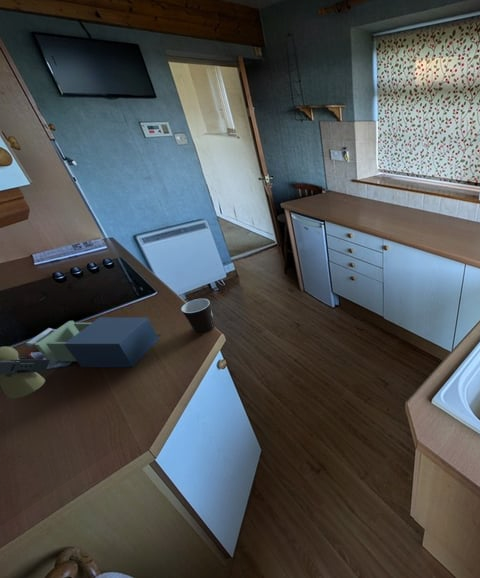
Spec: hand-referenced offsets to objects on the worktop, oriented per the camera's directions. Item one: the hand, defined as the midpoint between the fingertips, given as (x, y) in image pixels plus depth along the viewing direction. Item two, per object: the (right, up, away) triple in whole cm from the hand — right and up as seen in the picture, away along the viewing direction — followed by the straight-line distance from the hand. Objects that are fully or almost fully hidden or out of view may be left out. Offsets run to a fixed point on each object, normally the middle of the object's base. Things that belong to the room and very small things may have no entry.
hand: (35, 364), depth 68 cm
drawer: (-17, -2, +26) cm, 31 cm away
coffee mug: (+16, +4, +40) cm, 43 cm away
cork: (0, -5, -1) cm, 5 cm away
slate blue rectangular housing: (-4, -3, +27) cm, 27 cm away
